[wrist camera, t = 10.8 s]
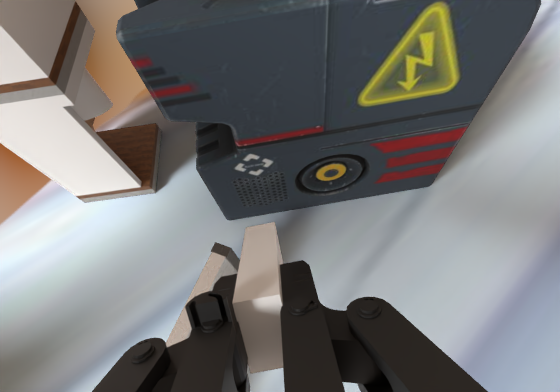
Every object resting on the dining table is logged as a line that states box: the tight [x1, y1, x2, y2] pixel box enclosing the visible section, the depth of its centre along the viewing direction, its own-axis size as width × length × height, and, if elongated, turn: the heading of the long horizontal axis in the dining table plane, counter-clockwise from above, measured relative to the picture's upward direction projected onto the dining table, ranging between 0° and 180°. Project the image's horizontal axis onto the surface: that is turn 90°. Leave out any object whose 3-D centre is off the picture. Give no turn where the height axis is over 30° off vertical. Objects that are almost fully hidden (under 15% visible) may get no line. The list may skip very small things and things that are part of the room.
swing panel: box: [166, 242, 240, 347], centre depth 31 cm, size 21×2×7 cm, turn 158°
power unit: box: [116, 0, 541, 220], centre depth 36 cm, size 28×28×30 cm
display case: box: [0, 0, 162, 203], centre depth 34 cm, size 11×11×35 cm
